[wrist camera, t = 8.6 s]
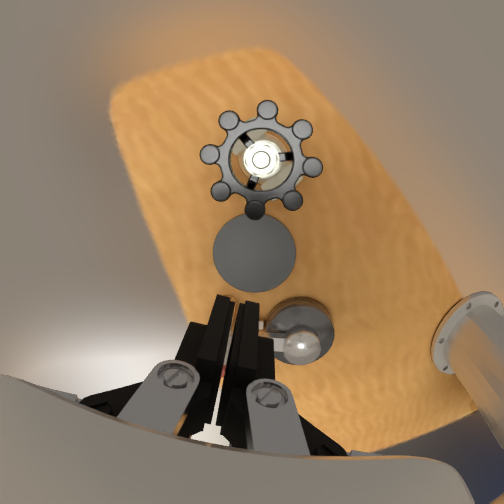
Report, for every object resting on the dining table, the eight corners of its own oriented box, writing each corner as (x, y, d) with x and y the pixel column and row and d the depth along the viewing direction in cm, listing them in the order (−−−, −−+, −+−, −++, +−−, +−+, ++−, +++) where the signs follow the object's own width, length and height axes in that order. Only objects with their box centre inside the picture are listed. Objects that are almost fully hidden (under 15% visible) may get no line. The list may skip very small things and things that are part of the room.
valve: (270, 109, 25) (271, 76, 14) (314, 165, 27) (347, 173, 15) (213, 153, 27) (175, 152, 15) (257, 207, 28) (250, 244, 17)
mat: (298, 214, 28) (298, 215, 28) (292, 292, 31) (292, 294, 30) (213, 211, 28) (212, 212, 28) (214, 288, 31) (213, 290, 31)
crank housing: (334, 297, 31) (349, 334, 24) (325, 351, 33) (335, 392, 26) (219, 293, 31) (206, 329, 24) (220, 347, 33) (210, 389, 27)
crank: (321, 325, 28) (331, 363, 23) (315, 354, 30) (322, 393, 24) (198, 317, 29) (184, 353, 23) (199, 346, 30) (187, 384, 24)
